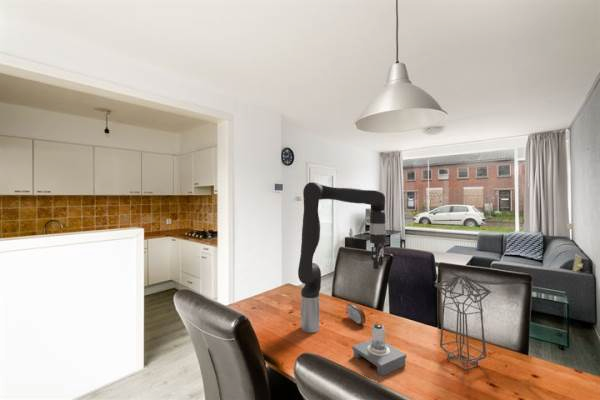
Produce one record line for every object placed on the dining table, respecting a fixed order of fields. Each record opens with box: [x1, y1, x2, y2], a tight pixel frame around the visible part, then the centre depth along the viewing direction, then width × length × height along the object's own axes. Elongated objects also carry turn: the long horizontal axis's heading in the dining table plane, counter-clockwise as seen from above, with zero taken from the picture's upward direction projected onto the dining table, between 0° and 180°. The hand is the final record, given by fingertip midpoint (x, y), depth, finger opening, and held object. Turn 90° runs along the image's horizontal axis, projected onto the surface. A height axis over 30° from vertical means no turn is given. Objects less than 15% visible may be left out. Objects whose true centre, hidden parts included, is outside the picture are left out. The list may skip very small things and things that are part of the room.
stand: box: [351, 338, 407, 377], centre depth 111 cm, size 16×14×4 cm
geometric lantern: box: [434, 274, 493, 371], centre depth 109 cm, size 16×16×35 cm
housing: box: [370, 323, 387, 354], centre depth 111 cm, size 7×7×10 cm
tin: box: [346, 302, 366, 325], centre depth 148 cm, size 15×3×8 cm, turn 22°
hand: (378, 267), depth 128 cm, fingers open, 8 cm apart
